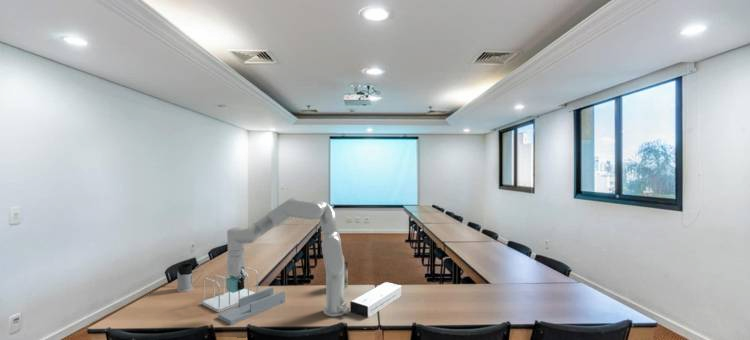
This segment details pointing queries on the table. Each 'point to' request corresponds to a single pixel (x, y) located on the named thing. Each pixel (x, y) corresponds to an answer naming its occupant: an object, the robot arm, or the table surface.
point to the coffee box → (345, 274)
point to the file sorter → (226, 296)
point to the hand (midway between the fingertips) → (237, 287)
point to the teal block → (232, 284)
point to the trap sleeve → (253, 305)
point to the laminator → (375, 299)
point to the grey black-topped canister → (185, 277)
